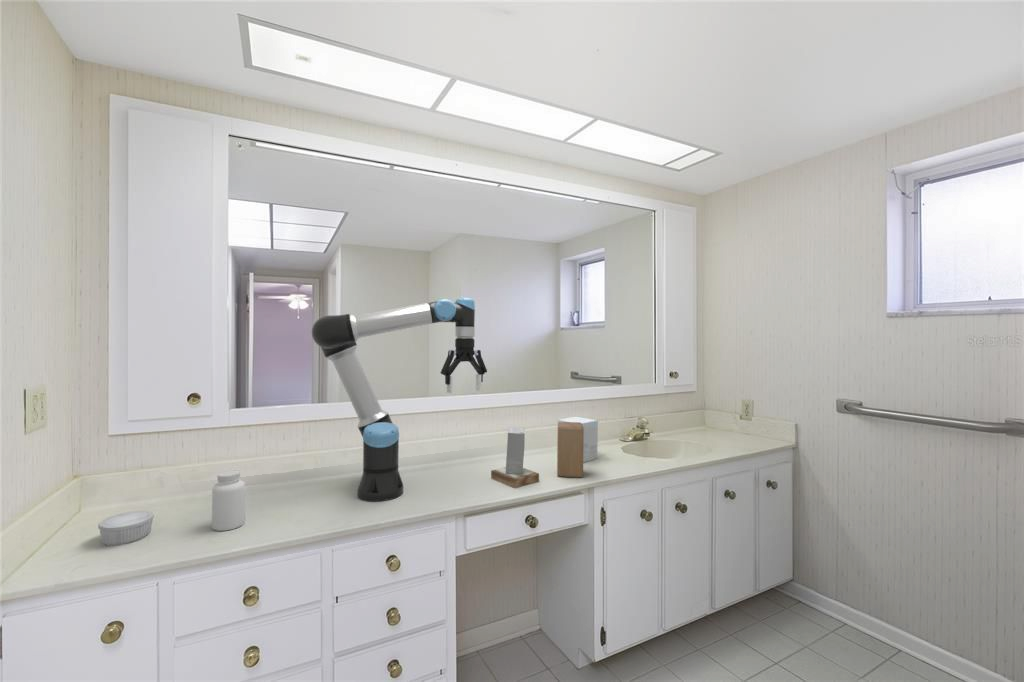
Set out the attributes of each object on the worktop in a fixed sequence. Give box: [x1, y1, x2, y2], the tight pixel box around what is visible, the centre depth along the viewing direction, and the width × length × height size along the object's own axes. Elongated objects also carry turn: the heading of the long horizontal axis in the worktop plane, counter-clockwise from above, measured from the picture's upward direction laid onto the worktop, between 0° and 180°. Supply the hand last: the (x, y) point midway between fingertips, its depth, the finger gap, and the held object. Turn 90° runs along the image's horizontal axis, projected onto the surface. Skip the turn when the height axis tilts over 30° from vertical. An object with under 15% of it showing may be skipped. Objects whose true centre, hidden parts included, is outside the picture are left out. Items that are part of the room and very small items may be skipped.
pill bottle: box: [211, 470, 247, 532], centre depth 125 cm, size 8×8×15 cm
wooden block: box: [556, 422, 584, 479], centre depth 175 cm, size 10×10×20 cm
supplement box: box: [556, 416, 599, 464], centre depth 199 cm, size 13×13×18 cm
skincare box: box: [505, 427, 526, 474], centre depth 168 cm, size 8×7×16 cm
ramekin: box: [97, 509, 155, 546], centre depth 117 cm, size 11×11×5 cm
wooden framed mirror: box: [490, 466, 540, 489], centre depth 167 cm, size 12×14×3 cm
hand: (464, 391), depth 173 cm, fingers open, 13 cm apart
